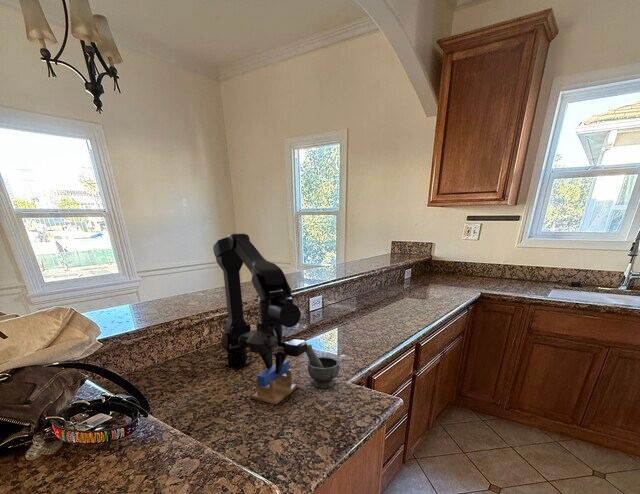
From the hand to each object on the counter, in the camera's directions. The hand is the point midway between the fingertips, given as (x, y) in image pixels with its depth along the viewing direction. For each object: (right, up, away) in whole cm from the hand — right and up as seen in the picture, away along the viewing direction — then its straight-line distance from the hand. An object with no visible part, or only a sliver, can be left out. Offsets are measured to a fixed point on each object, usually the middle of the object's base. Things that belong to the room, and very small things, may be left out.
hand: (274, 372), depth 99 cm
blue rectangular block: (0, -1, +1) cm, 2 cm away
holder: (0, -6, +3) cm, 6 cm away
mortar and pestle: (+13, -3, +9) cm, 16 cm away
